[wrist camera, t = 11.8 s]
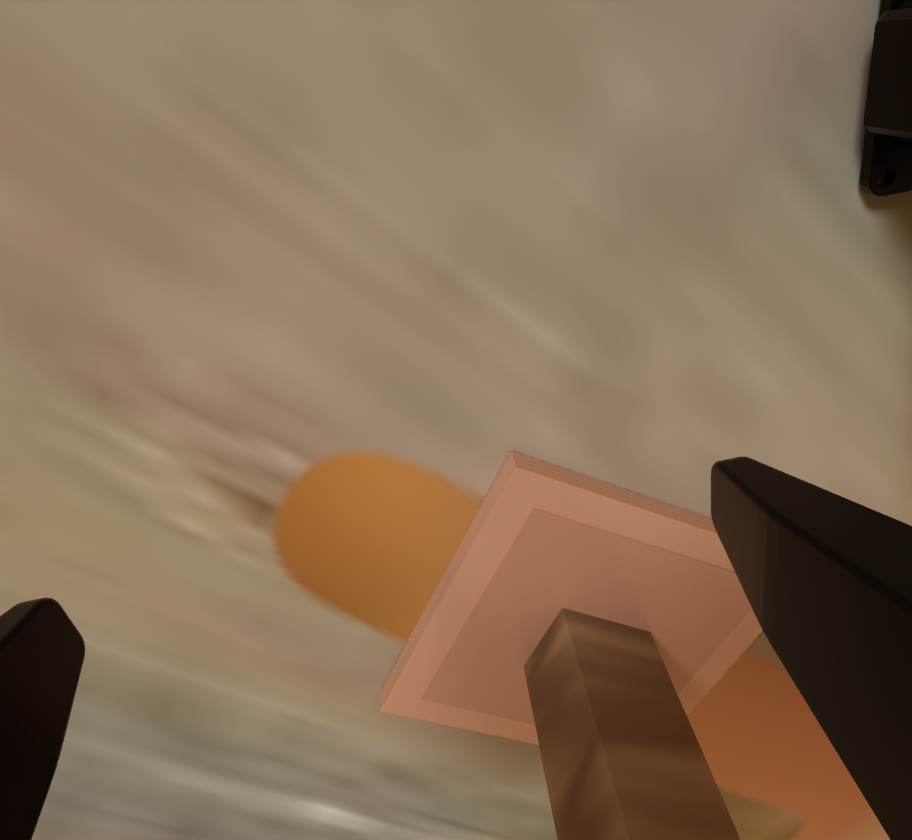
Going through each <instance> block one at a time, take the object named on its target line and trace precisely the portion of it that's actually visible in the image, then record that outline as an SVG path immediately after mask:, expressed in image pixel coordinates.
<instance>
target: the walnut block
mask: <svg viewBox="0 0 912 840" xmlns="http://www.w3.org/2000/svg"><path fill="white" fill-rule="evenodd" d="M524 671H525V676H526V681H527V686H528V691H529V697H530V702H531V707H532V712H533V717H534V722H535V727H536V732H537V737H538V742H539V747H540V752H541V757H542V762H543V767H544V772H545V777H546V782H547V787H548V793H549V798H550V803H551V808H552V813H553V818H554V823H555V828H556V833H557V838H558V840H740V838H739V836H738V833H737V831H736V829H735V826H734V824H733V822H732V820H731V817H730V815H729V813H728V810H727V808H726V806H725V803H724V801H723V799H722V796H721V794H720V792H719V789H718V787H717V785H716V783H715V780H714V778H713V776H712V773H711V771H710V769H709V766H708V764H707V762H706V760H705V757H704V755H703V752H702V750H701V748H700V746H699V743H698V741H697V739H696V736H695V734H694V732H693V729H692V727H691V725H690V723H689V720H688V718H687V715H686V713H685V711H684V709H683V706H682V704H681V702H680V699H679V697H678V695H677V692H676V690H675V688H674V685H673V683H672V681H671V678H670V676H669V674H668V672H667V669H666V667H665V665H664V662H663V660H662V658H661V655H660V653H659V651H658V648H657V646H656V644H655V641H654V639H653V637H652V635H651V632H649V631H645V630H642V629H638V628H635V627H631V626H627V625H624V624H620V623H616V622H613V621H609V620H605V619H602V618H598V617H594V616H591V615H587V614H584V613H580V612H576V611H573V610H569V609H565V608H562V609H561V610H560V612H559V613H558V615H557V616H556V618H555V619H554V621H553V622H552V624H551V625H550V627H549V628H548V630H547V631H546V633H545V634H544V636H543V637H542V639H541V640H540V642H539V643H538V645H537V646H536V648H535V649H534V651H533V652H532V654H531V655H530V657H529V658H528V660H527V661H526V663H525V664H524Z"/></svg>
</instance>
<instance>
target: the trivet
mask: <svg viewBox="0 0 912 840" xmlns="http://www.w3.org/2000/svg"><path fill="white" fill-rule="evenodd" d="M562 608H565V609H569V610H573V611H576V612H580V613H584V614H587V615H591V616H594V617H598V618H602V619H605V620H609V621H613V622H616V623H620V624H624V625H627V626H631V627H635V628H638V629H642V630H645V631H649V632H651V635H652V637H653V639H654V641H655V644H656V646H657V648H658V651H659V653H660V655H661V658H662V660H663V662H664V665H665V667H666V669H667V672H668V674H669V676H670V678H671V681H672V683H673V685H674V688H675V690H676V692H677V695H678V697H679V699H680V702H681V704H682V706H683V709H684V711H685V713H686V715H687V716H688V715H689V714H690V713H691V712H692V711H693V710H694V708H695V707H696V706H697V705H698V704H699V703H700V702H701V700H702V699H703V698H704V697H705V696H706V695H707V693H709V691H710V690H711V689H712V688H713V687H714V686H715V684H717V682H718V681H719V680H720V679H721V678H722V677H723V675H724V674H725V673H726V672H727V671H728V670H729V669H730V668H731V667H732V665H733V664H734V663H735V662H736V661H737V660H738V659H739V657H740V656H741V655H742V654H743V653H744V652H745V651H746V650H747V648H748V647H749V646H750V645H751V644H752V643H753V642H754V640H755V639H756V638H757V637H758V636H759V635H760V634H761V633H762V631H763V630H762V628H761V626H760V624H759V622H758V620H757V618H756V616H755V614H754V612H753V610H752V608H751V605H750V603H749V601H748V599H747V597H746V595H745V592H744V590H743V588H742V586H741V584H740V582H739V580H738V577H737V575H736V573H735V571H734V569H733V567H732V564H731V562H730V560H729V558H728V556H727V554H726V552H725V549H724V547H723V545H722V543H721V541H720V539H719V536H718V534H717V532H716V530H715V527H714V524H713V521H712V519H710V518H707V517H704V516H701V515H698V514H695V513H692V512H689V511H686V510H683V509H681V508H678V507H675V506H672V505H669V504H666V503H663V502H660V501H657V500H654V499H651V498H648V497H645V496H642V495H639V494H637V493H634V492H631V491H628V490H625V489H622V488H619V487H616V486H613V485H610V484H607V483H604V482H601V481H598V480H595V479H593V478H590V477H587V476H584V475H581V474H578V473H575V472H572V471H569V470H566V469H563V468H560V467H557V466H554V465H551V464H549V463H546V462H543V461H540V460H537V459H534V458H531V457H528V456H525V455H522V454H519V453H516V452H513V451H511V453H510V454H509V456H508V458H507V460H506V462H505V464H504V465H503V467H502V469H501V471H500V473H499V475H498V476H497V478H496V480H495V482H494V484H493V486H492V487H491V489H490V491H489V493H488V495H487V497H486V498H485V500H484V502H483V504H482V506H481V508H480V510H479V511H478V513H477V515H476V517H475V519H474V520H473V522H472V524H471V526H470V528H469V530H468V531H467V534H466V535H465V537H464V539H463V541H462V543H461V544H460V546H459V548H458V550H457V552H456V554H455V555H454V557H453V559H452V561H451V563H450V565H449V567H448V568H447V570H446V572H445V574H444V576H443V577H442V579H441V581H440V583H439V585H438V587H437V588H436V590H435V592H434V594H433V596H432V598H431V600H430V601H429V603H428V605H427V607H426V609H425V610H424V612H423V614H422V616H421V618H420V620H419V621H418V623H417V625H416V627H415V629H414V631H413V632H412V634H411V636H410V638H409V640H408V642H407V643H406V645H405V647H404V649H403V651H402V653H401V654H400V656H399V658H398V660H397V662H396V664H395V665H394V667H393V669H392V671H391V673H390V675H389V676H388V678H387V680H386V682H385V684H384V686H383V688H382V689H381V699H380V711H382V712H387V713H392V714H396V715H401V716H406V717H410V718H415V719H419V720H424V721H429V722H433V723H438V724H443V725H447V726H452V727H457V728H461V729H466V730H470V731H475V732H480V733H484V734H489V735H494V736H498V737H503V738H508V739H512V740H517V741H521V742H526V743H531V744H535V745H539V742H538V737H537V732H536V727H535V722H534V717H533V712H532V707H531V702H530V697H529V691H528V686H527V681H526V676H525V671H524V664H525V663H526V661H527V660H528V658H529V657H530V655H531V654H532V652H533V651H534V649H535V648H536V646H537V645H538V643H539V642H540V640H541V639H542V637H543V636H544V634H545V633H546V631H547V630H548V628H549V627H550V625H551V624H552V622H553V621H554V619H555V618H556V616H557V615H558V613H559V612H560V610H561V609H562Z"/></svg>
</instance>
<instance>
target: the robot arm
mask: <svg viewBox="0 0 912 840" xmlns="http://www.w3.org/2000/svg"><path fill="white" fill-rule="evenodd" d="M864 125H865V126H866V134H865V142H864V150H863V159H862V167H861V175H860V185H861V187H862V189H863V191H865V192H867V193H869V194H873V195H876V196H886V195H891V194H896V193H901V192H906V191H911V190H912V0H881V8H880V17H879V20H878V22H877V23H876V25H875V32H874V41H873V49H872V58H871V66H870V75H869V83H868V92H867V100H866V109H865V117H864ZM885 169H886V173H887V174H886V177H885V179H884V180H883V181H882V182H881V183H879V184H878V180H877V179H878V177H879V174H880V173H881V172H882V171H883V170H885ZM711 516H712V521H713V524H714V527H715V530H716V532H717V534H718V536H719V539H720V541H721V543H722V545H723V547H724V549H725V552H726V554H727V556H728V558H729V560H730V562H731V564H732V567H733V569H734V571H735V573H736V575H737V577H738V580H739V582H740V584H741V586H742V588H743V590H744V592H745V595H746V597H747V599H748V601H749V603H750V605H751V608H752V610H753V612H754V614H755V616H756V618H757V620H758V622H759V624H760V626H761V628H762V630H763V632H764V633H765V635H766V637H767V638H768V640H769V642H770V644H771V645H772V647H773V649H774V650H775V652H776V654H777V655H778V657H779V658H780V660H781V662H782V663H783V665H784V667H785V668H786V670H787V672H788V673H789V675H790V676H791V678H792V680H793V681H794V683H795V685H796V686H797V688H798V689H799V691H800V693H801V694H802V696H803V698H804V699H805V701H806V702H807V704H808V705H809V707H810V709H811V711H812V712H813V714H814V716H815V717H816V719H817V720H818V722H819V724H820V725H821V727H822V729H823V730H824V732H825V734H826V735H827V737H828V738H829V740H830V742H831V743H832V745H833V747H834V748H835V750H836V751H837V753H838V755H839V756H840V758H841V760H842V761H843V763H844V765H845V766H846V768H847V769H848V771H849V772H850V774H851V776H852V778H853V779H854V781H855V782H856V784H857V786H858V787H859V789H860V791H861V792H862V794H863V796H864V797H865V799H866V800H867V802H868V804H869V805H870V807H871V808H872V810H873V812H874V813H875V815H876V817H877V818H878V820H879V822H880V823H881V825H882V827H883V828H884V830H885V831H886V833H887V835H888V836H889V838H890V840H912V526H910V525H908V524H905V523H903V522H901V521H898V520H896V519H894V518H891V517H889V516H886V515H884V514H882V513H879V512H877V511H875V510H872V509H870V508H867V507H865V506H863V505H860V504H858V503H855V502H853V501H851V500H848V499H846V498H844V497H841V496H839V495H836V494H834V493H832V492H829V491H827V490H825V489H822V488H820V487H817V486H815V485H813V484H810V483H808V482H805V481H803V480H801V479H798V478H796V477H794V476H791V475H789V474H786V473H784V472H782V471H779V470H777V469H775V468H772V467H770V466H767V465H765V464H763V463H760V462H758V461H756V460H753V459H751V458H748V457H736V458H732V459H727V460H722V461H718V462H716V463H715V464H714V465H713V466H712V470H711ZM84 656H85V645H84V641H83V638H82V636H81V634H80V633H79V631H78V630H77V629H76V627H75V626H74V624H73V623H72V621H71V620H70V619H69V617H68V616H67V614H66V613H65V611H64V610H63V608H62V607H61V606H60V604H59V603H58V602H57V601H55V600H54V599H52V598H41V599H36V600H31V601H26V602H22V603H19V604H17V605H15V606H14V607H12V608H11V609H10V610H8V611H7V612H5V613H4V614H3V615H1V616H0V840H31V839H32V836H33V833H34V831H35V828H36V825H37V822H38V819H39V816H40V813H41V811H42V808H43V805H44V802H45V799H46V796H47V794H48V791H49V788H50V785H51V782H52V779H53V776H54V773H55V770H56V767H57V763H58V760H59V756H60V753H61V749H62V745H63V741H64V737H65V733H66V729H67V725H68V721H69V717H70V713H71V709H72V705H73V701H74V697H75V693H76V689H77V685H78V681H79V677H80V672H81V668H82V664H83V660H84Z"/></svg>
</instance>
